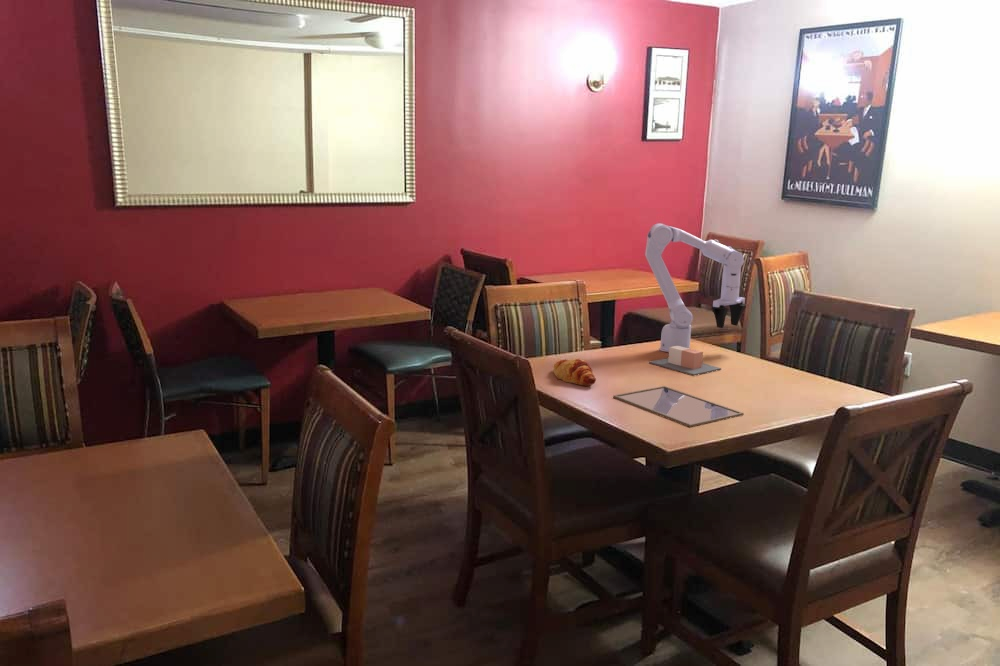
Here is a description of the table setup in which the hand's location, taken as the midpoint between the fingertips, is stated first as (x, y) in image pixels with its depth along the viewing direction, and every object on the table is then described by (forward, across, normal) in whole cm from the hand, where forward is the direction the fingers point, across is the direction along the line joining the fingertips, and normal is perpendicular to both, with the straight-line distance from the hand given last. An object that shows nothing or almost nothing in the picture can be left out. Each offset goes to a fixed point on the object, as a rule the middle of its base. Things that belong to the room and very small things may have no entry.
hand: (727, 326), depth 261 cm
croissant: (+10, -65, +4) cm, 66 cm away
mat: (+9, -26, -4) cm, 27 cm away
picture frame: (+10, -60, -30) cm, 68 cm away
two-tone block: (+9, -26, -4) cm, 27 cm away
